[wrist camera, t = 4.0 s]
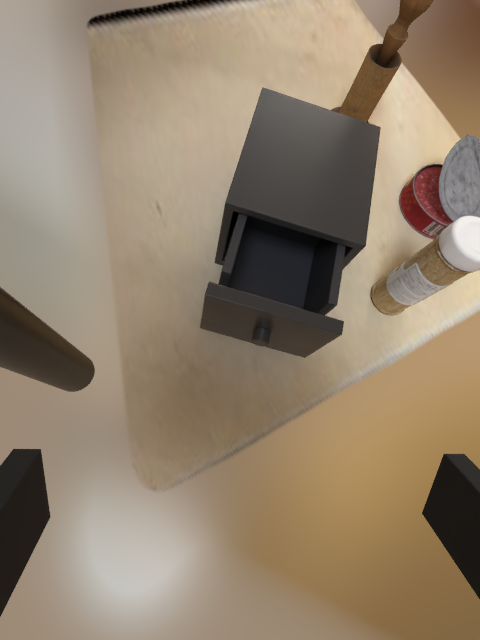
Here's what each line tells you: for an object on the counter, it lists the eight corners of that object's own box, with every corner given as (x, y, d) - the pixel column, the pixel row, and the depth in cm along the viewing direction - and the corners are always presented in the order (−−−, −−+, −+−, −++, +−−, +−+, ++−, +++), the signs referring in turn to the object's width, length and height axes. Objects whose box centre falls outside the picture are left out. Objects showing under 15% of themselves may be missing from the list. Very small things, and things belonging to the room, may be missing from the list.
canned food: (423, 206, 52) (498, 163, 45) (438, 260, 48) (524, 222, 40) (382, 168, 46) (461, 111, 39) (395, 225, 41) (486, 174, 34)
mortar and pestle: (319, 151, 46) (397, -12, 29) (318, 117, 48) (391, -54, 31) (364, 160, 47) (466, 6, 30) (361, 125, 49) (455, -36, 32)
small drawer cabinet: (319, 294, 39) (365, 246, 29) (214, 262, 38) (225, 202, 28) (336, 196, 44) (380, 127, 34) (244, 166, 43) (262, 86, 33)
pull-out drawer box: (303, 368, 35) (340, 348, 26) (196, 339, 34) (200, 308, 26) (324, 250, 40) (360, 202, 31) (232, 222, 39) (245, 165, 31)
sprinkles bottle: (391, 276, 41) (482, 206, 29) (411, 308, 40) (515, 250, 28) (362, 289, 40) (444, 222, 27) (382, 322, 39) (477, 269, 26)
